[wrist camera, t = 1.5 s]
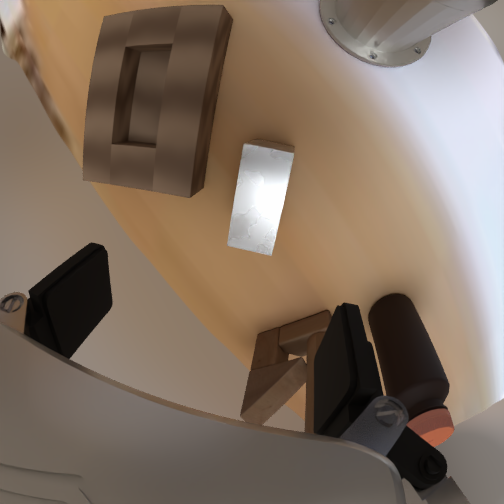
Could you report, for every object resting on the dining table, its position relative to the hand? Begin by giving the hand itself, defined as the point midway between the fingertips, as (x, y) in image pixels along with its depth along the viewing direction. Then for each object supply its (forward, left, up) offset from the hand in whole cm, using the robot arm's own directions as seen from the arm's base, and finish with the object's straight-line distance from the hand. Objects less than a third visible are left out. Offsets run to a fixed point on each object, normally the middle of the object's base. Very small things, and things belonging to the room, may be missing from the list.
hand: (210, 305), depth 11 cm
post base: (-8, -14, -22) cm, 27 cm away
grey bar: (0, 0, -22) cm, 22 cm away
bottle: (+13, +20, -22) cm, 33 cm away
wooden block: (+19, +8, -22) cm, 30 cm away
